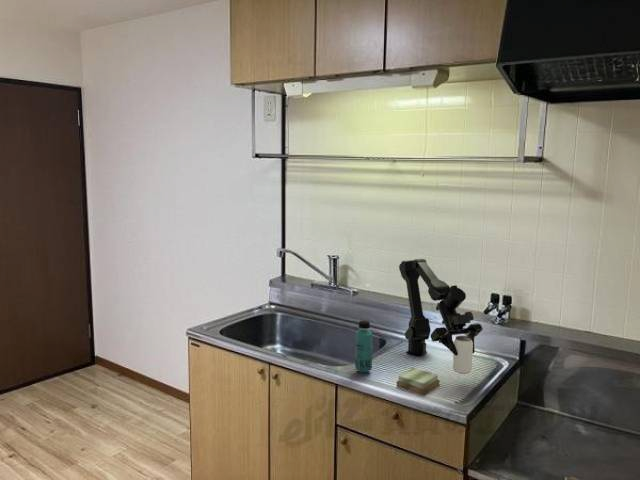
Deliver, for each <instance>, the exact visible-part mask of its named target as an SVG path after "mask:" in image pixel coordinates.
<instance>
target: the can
mask: <svg viewBox="0 0 640 480" xmlns="http://www.w3.org/2000/svg"><path fill="white" fill-rule="evenodd" d="M453 342H454V345H455V347H456V350H457V353H458V355H457V356H456V355H454V354H453V360H452V361H453V362H452V368H453V369H452V370H453V371H454V372H456V373H458V374H463V375H465V374H466V375H467V374H470V373H471V372H472V370H473V354H474V353H473V342H472V338H471V337H468V336H465V335H456V336H455V340H454V341H453Z"/></svg>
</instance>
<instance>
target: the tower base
mask: <svg viewBox="0 0 640 480" xmlns="http://www.w3.org/2000/svg"><path fill="white" fill-rule="evenodd" d="M438 375H439V374H437V373H433V372H430V371H426V370H424V369H423V370H422V369H419V368H416V367H412V368H409V370H406V371H405V372H403V373H402V374H400V375H398V380H397V381H396V388H399V389H402V388H403V390H405V389H406V390H405V391H408V390H409V392H412V393H414V394H415V393H416V394H418V395H422V396H425V395H427V394H428V393H430V392H432V391H433V390H434V389H436V388H437V387H439V386H440V379H439V377H438Z"/></svg>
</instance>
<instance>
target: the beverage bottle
mask: <svg viewBox="0 0 640 480" xmlns="http://www.w3.org/2000/svg"><path fill="white" fill-rule="evenodd" d="M370 323H371V322H370V321H368V320H361V321H359V322H358V330H357V331H356V332H355V353H354V354H355V357H354V365H355V366H354V368H355V370H356V371H357V372H362V373H363V372H365V373H366V372H370V371H371V370H372V368H373V366H372V365H373V332H372V330H370V329H369V328H371V324H370Z"/></svg>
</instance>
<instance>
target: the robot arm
mask: <svg viewBox="0 0 640 480" xmlns="http://www.w3.org/2000/svg"><path fill="white" fill-rule="evenodd" d="M398 269H399V272H400V276H401V278H402V279H403V280H404V282H406V289H407V297H408V304H409V308H410V319H409V321H408V328H407V329H406V331H405V332H404V338H405V339H406V340H407V341H408V342H407V344H408V345H407V346H408V347H407V349H408V350H407V351H406V352H405V353H406V354H408V355H412V356H416V357H421V356H423V355H425V354H427V353H428V351H427V343H426V340H429V338H431V342H438V343H439V344H442V346H444V347H446V348H447V349H448V350H449V351H450V352H451V353H452V354H453V356H454V355H456V356H457V355H458V353H457V350H456V347H455V345H454V341H453V336H459V335H464V336H468V337H471V338H472V342H473V354H474V353H476V352H475V349H476V348H475V337H478V335H479V334H480V333H482V331H483V330H484V328H483V326H482V324H481V323H471V321H474V320H475V318H474V315H473V313H472V311H466V312H464V313H463V314H461V313H460V312H457V310H456V309H458V308H459V307H460V305H462V304H463V302H464V301H465V300H466V298H467V294H466V292H464V290H463V289H462V288H460V287H458V286H457V285H451V286H450V285H449V284H448V283H447V282H445V281H444V280H440V278H438V277H437V275H436V274H435V272H434V271H433V270H432V268H431V267H430V266H429V265H428V262H427V260H426V259H425V258H419V259H413V260H410V259H409V260H402V261H401V263H400V264H399V266H398ZM420 277H421V279H422V280H423V282H424V283H425V284H426V286H427V288H428V290H427V293H428V294H429V298H431V300H432V301H434V302H435V301H439V302H437V303H436V307H435V310H436V311H438V312H439V313H440V316H441V319H442V320H441V325H444V326H445V327H444V326H443V327H441V326H440V327H436V328H435V329H434V330H433V331H431V326H430V319H429V318H426V316H425V315H424V311H423V305H422V304H423V303H422V298H421V293H420V292H421V291H420V287H419V278H420ZM467 324H469V325H468V326H467ZM466 326H467V327H466Z"/></svg>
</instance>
